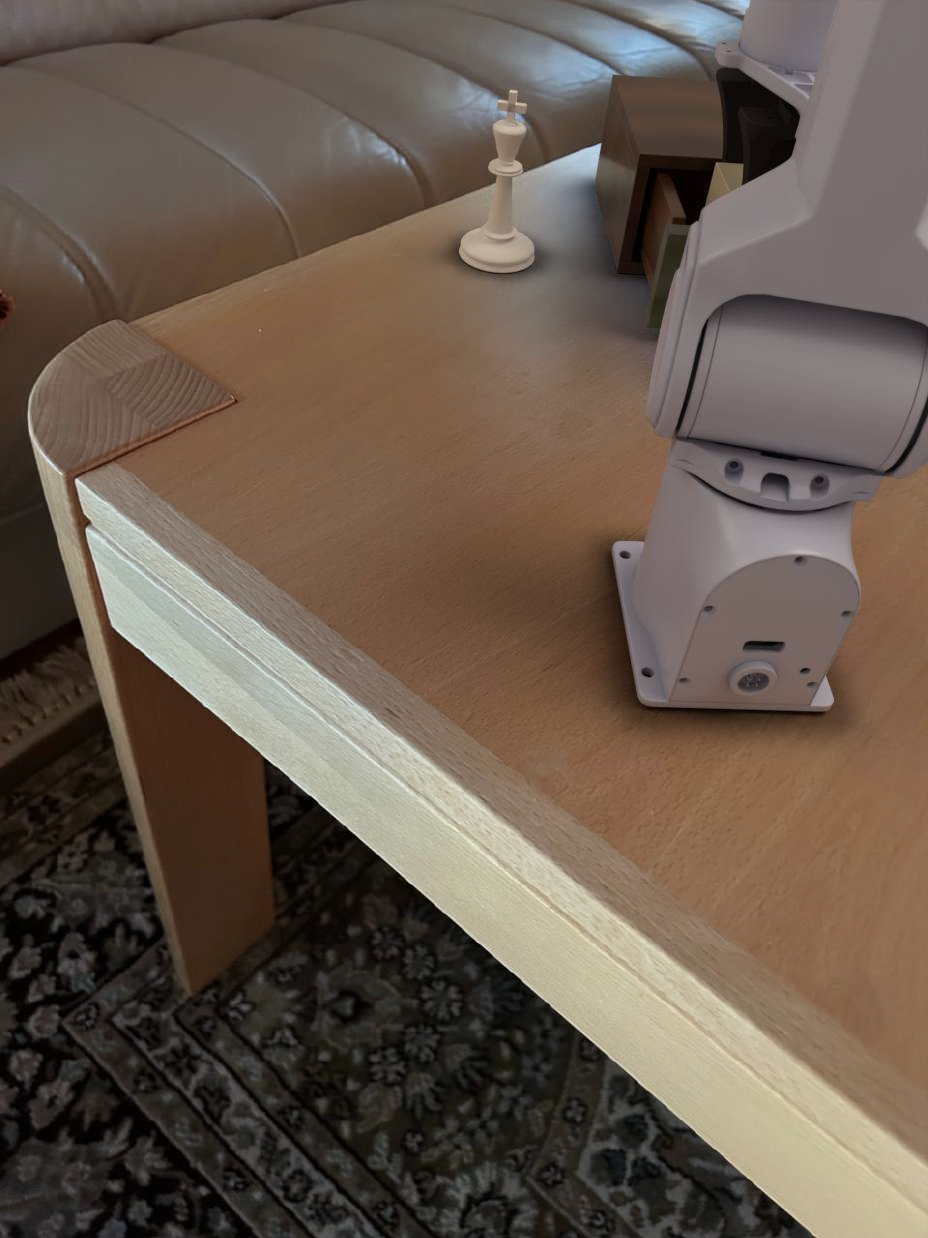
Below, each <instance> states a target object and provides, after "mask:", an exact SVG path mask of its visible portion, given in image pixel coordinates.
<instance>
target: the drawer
mask: <svg viewBox="0 0 928 1238" xmlns="http://www.w3.org/2000/svg"><path fill="white" fill-rule="evenodd" d="M712 177H713V172H710V171H695V170H679V169H664V168H650V171H649V176H648V181H647V186H646V191H645V196H644V201H643V206H642V211H641V216H640V221H639V225H638V230H637V235H636V243H637V246H638V250H639V253H640V256H641V260H642V263H643V267H644V270H645V273H646V274H645V276H646V281H647V284H648V287H649V290H650V292H649V296H648V301H647V306H646V309H645V314H644V320H645V323H646V328H647V329H657V330H660V329H661V325H662V320H663V316H664V312H665V307H666V303H667V299H668V295H669V291H670V288H671V284H672V281H673V278H674V275H675V272H676V271H677V270H678V269H679V268H680V264H681V261H682V257H683V253H684V249H685V245H686V241H687V237H688V233H689V229H690V226H691V225H692V224H693V223H695V222H696V221H699V218H700V214H701V210H702V209H703V208H704V207H705V205H706V201H707V197H708V193H709V189H710V185H711V181H712Z"/></svg>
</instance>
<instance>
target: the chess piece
mask: <svg viewBox="0 0 928 1238" xmlns="http://www.w3.org/2000/svg"><path fill="white" fill-rule="evenodd" d="M518 93H519V91H518V90H515V89H510V90H509V92H508V99H507V100H504V99H498V100H497V104H496V110H497V111H502V112H506V119H500V120H497V121H496V122H494V124H493V125H492V134H493V137H494V141H495V148H496V152H497V158H493V159H492V160H490V162H489V164H488V166H487V169H488V171H489V172H490V173H491V174H493V175H495V176H496V180H495V184H494V191H493V195H492V199H491V200H492V201H491V204H490V209H489V214H488V216H487V221H486V223H484V224H483V225H482V226H481V227H477V228H475V229H472V230H469V231H467V232H466V233H465V234H464V235H463V236H462V238H461V239H460V246H459V249H458V254H459V257H460V258H461V260H462V261H464V262H465V263H466V264H468V265H469V266H471V267H472V268H475V269H478V270H481V271H485V272H489V273H497V274H508V273H516V272H520V271H523V270H525V269H527V268H529V267H530V266H532V264H533V263H534V261H535V259H536V258H535V255H536V254H535V244H534V242H533V241H532V240H531V238H529V237H528V236H527V235H526V234H524V233H522V232H520V231H518V229H517V228H516V227H515V226H514V223H513V222H514V221H513V219H514V217H513V178H515V177H518V176H521V175H522V174H523V172H524V168H523V164H522V163H521V162H519V161H518V160H516V157H517V155H518V153H519V151H520V147H521V145H522V143H523V140H525V136H526V134H527V127H526V126H525V124H524V123H522V122H521V121H518V120H516V114H521V115H526V113H527V110H528V109H527V108H528V103H524V102H518Z"/></svg>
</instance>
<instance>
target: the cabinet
mask: <svg viewBox="0 0 928 1238" xmlns="http://www.w3.org/2000/svg"><path fill="white" fill-rule="evenodd" d="M608 94H609V95H608V101H607V105H606V112H605V119H604V124H603V130H602V136H601V143H600V149H599V156H598V162H597V167H596V172H595V180H594V189H595V192H596V196H597V200H598V204H599V208H600V212H601V215H602V220H603V224H604V228H605V232H606V236H607V239H608V243H609V248H610V250H611V255H612V259H613V262H614V266H615V270H616V273H617V274H629V275H631V274H632V275H646V273H645V270H644V267H643V263H642V260H641V256H640V253H639V250H638V246H637V243H636V235H637V230H638V225H639V221H640V216H641V211H642V206H643V201H644V196H645V191H646V186H647V181H648V176H649V171H650V168H664V169H679V170H695V171H710V172H714V168H715V164H716V162H720V163H722V155H723V117H722V107H721V99H720V93H719V89H718V84H717V81H710V80H699V79H697V80H695V79H684V78H683V79H682V78H667V77H653V76H640V75H626V74H625V75H624V74H612V76H611V83H610V89H609V93H608Z"/></svg>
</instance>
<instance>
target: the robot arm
mask: <svg viewBox="0 0 928 1238" xmlns="http://www.w3.org/2000/svg"><path fill="white" fill-rule="evenodd" d="M713 56H714V58H715V60H716V62H717V64H718V65H719V66H721V67H720V68H718V69H717V70H716V73H715V79H716V82H717V84H718V89H719V93H720V99H721V107H722V117H723V155H722V163H735V164H743V178H742V186H741V187H739V188H737V189H735V190H733V191H731V192H729V193H727V194H725V195H723V196H722V197H720V198H718V199H716V200H714V201H713V202H711V203H709V204H708V205H706V206H705V207H704V208H703V209H702V210H701V214H700V218H699V221H696V222H695V223H693V224H692V225H691V226H690V229H689V233H688V237H687V241H686V245H685V249H684V253H683V257H682V261H681V264H680V268H679V269H678V270H677V271H676V272H675V275H674V278H673V281H672V284H671V288H670V291H669V295H668V299H667V303H666V307H665V312H664V316H663V320H662V325H661V329H659V335H658V337H657V338H658V339H657V343H656V349H655V353H654V358H653V364H652V370H651V374H650V380H649V384H648V391H647V396H646V397H647V398H646V405H645V419H646V420H647V422H648V423H649V425H650V427H652V428H653V432H654V435H655V436H656V437H658V438H666V439H670V445H669V449H668V453H667V455H666V459H665V464H664V466H663V471H662V475H661V478H660V482H659V486H658V490H657V494H656V496H655V501H654V504H653V508H652V512H651V515H650V519H649V522H648V527H647V530H646V533H645V538H644V541H640V540H639V541H636V540H618V541H615V542H614V543H613V545H612V548H611V558H612V563H613V569H614V574H615V579H616V585H617V589H618V597H619V602H620V606H621V613H622V618H623V624H624V629H625V636H626V642H627V647H628V653H629V658H630V662H631V668H632V672H633V673H632V675H633V680H634V685H635V691H636V697H637V699H638V701H639V702H640V703H641V704H642V705H645V706H647V707H651V708H654V707H655V708H681V709H682V708H683V709H687V708H688V709H721V710H753V711H756V710H757V711H787V712H788V711H791V712H828V711H829V710H831V708H832V706H833V705H834V702H835V697H834V695H833V691H832V688H831V686H830V683H829V681H828V678H827V674H828V672H829V670H830V668H831V667H832V664H833V662H834V659H835V658H836V656H837V654H838V652H839V650H840V649H841V646H842V644H843V642H844V640H845V638H846V637H847V634H848V632H849V630H850V628H851V626H852V624H853V622H854V621H855V619H856V617H857V614H858V613H859V610H860V606H861V602H862V588H861V587H862V586H861V581H860V578H859V574H858V571H857V567H856V563H855V560H854V555H853V545H852V527H853V526H852V525H853V519H854V510H855V508H856V504H857V502H866V503H871V502H873V501H874V499H875V497H876V495H877V493H878V490H879V488H880V486H881V484H882V481H883V479H884V477H885V478H886V477H887V478H893V479H897V480H902V479H903V480H904V479H906V478H909V477H910V476H911V475H913V474H914V473H915V472H917V470H919V469H920V468H921V467H922V466H924V465H926V464H927V463H928V0H750V1H749V5H748V7H746V8H745V11H744V17H743V20H742V25H741V29H740V33H739V36H738V38H737V39H736V40H733V41H727V40H720V41H718V42H716V46H715V51H714V54H713ZM645 675H648V676H649V677H648V676H645Z"/></svg>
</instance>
